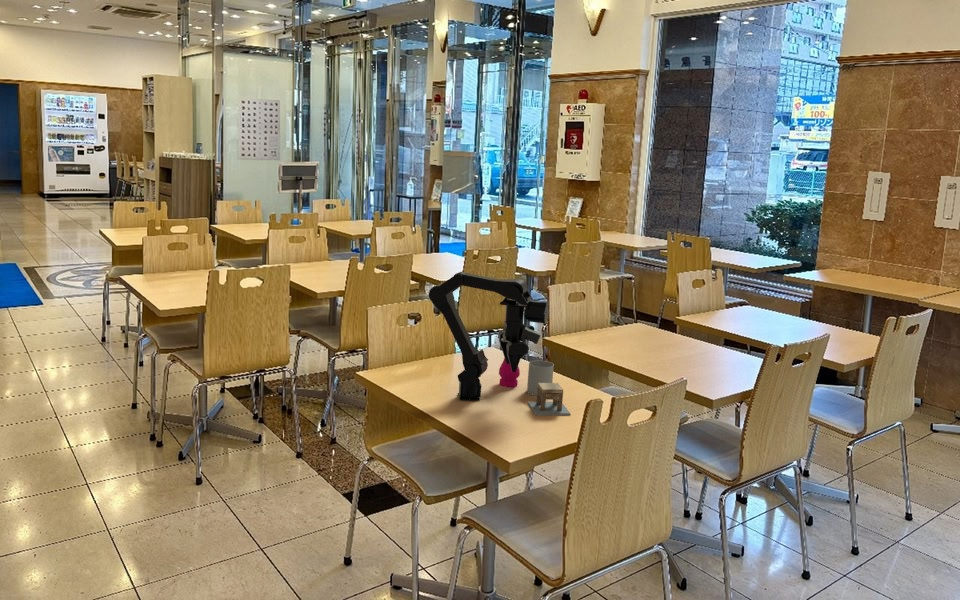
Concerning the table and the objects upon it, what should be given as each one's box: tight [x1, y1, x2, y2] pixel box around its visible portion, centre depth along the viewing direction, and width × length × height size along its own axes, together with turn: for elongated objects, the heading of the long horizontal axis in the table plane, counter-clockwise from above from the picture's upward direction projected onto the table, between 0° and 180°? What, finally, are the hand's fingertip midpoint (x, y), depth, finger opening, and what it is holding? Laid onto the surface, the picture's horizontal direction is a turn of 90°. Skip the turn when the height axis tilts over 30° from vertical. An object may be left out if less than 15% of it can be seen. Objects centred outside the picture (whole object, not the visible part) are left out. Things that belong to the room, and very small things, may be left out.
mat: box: [527, 401, 571, 416], centre depth 245 cm, size 11×11×1 cm
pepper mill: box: [498, 357, 521, 388], centre depth 266 cm, size 7×7×20 cm
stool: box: [535, 382, 564, 411], centre depth 244 cm, size 7×7×7 cm
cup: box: [526, 359, 555, 397], centre depth 261 cm, size 8×8×10 cm
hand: (511, 367), depth 245 cm, fingers open, 9 cm apart
